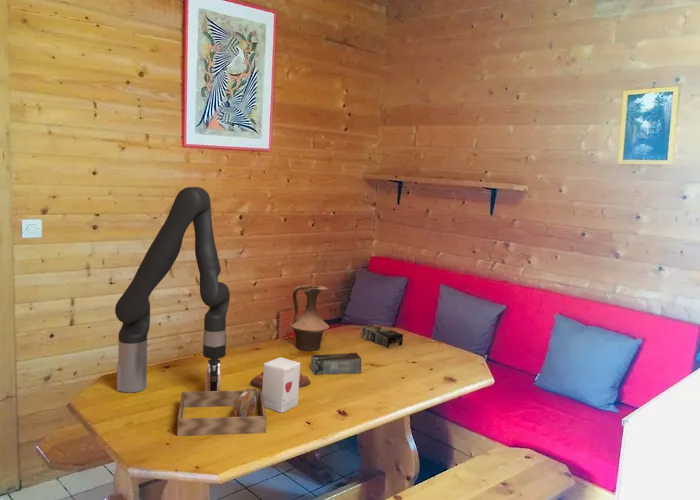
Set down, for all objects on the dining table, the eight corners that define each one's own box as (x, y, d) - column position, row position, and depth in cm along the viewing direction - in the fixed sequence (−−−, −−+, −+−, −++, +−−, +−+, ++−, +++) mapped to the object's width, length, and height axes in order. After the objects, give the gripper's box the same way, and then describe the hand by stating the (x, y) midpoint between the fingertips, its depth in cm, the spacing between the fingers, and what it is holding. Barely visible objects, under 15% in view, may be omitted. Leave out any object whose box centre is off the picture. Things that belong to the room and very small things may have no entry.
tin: (240, 429, 183) (241, 403, 181) (230, 428, 183) (231, 401, 182) (257, 410, 197) (258, 385, 196) (248, 408, 198) (249, 384, 197)
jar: (204, 399, 203) (205, 371, 201) (205, 393, 207) (205, 366, 206) (220, 399, 204) (221, 371, 202) (220, 393, 208) (220, 366, 207)
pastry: (280, 374, 231) (281, 353, 230) (312, 384, 222) (313, 364, 221) (249, 386, 217) (250, 364, 216) (281, 398, 209) (282, 376, 207)
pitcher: (293, 355, 252) (296, 289, 248) (282, 342, 268) (285, 280, 264) (333, 352, 259) (337, 289, 254) (320, 340, 274) (324, 280, 270)
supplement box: (282, 413, 195) (284, 369, 193) (260, 406, 200) (262, 363, 198) (298, 405, 203) (301, 362, 201) (278, 398, 208) (280, 356, 205)
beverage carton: (309, 368, 239) (310, 352, 238) (356, 367, 244) (357, 351, 243) (314, 375, 231) (315, 359, 230) (362, 374, 237) (363, 357, 236)
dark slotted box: (358, 337, 284) (359, 324, 283) (374, 334, 290) (375, 322, 289) (387, 349, 269) (388, 336, 268) (403, 346, 275) (404, 333, 274)
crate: (177, 436, 176) (177, 419, 175) (181, 406, 196) (181, 391, 195) (265, 432, 182) (266, 417, 181) (260, 404, 202) (261, 390, 201)
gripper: (203, 335, 209) (202, 380, 211) (202, 349, 195) (201, 396, 197) (225, 335, 210) (224, 380, 213) (226, 348, 197) (225, 396, 199)
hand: (213, 388), depth 205 cm, fingers open, 8 cm apart
